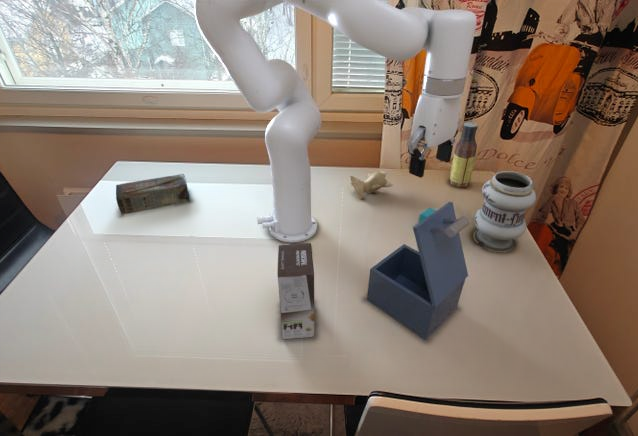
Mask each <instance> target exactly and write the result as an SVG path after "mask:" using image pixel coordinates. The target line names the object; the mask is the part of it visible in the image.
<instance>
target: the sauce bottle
mask: <svg viewBox="0 0 638 436" xmlns="http://www.w3.org/2000/svg"><path fill="white" fill-rule="evenodd" d="M478 127H479V125H478V123H476V122H472V121H466V122H464V123H463V124H462V131H461V132H462V133H461V136H460V139H459V140H458V141H457V143H456V145H455V149H454V153H453V157H452V164H451V169H450V175H449V183H450V185H451V186H454V187H456V188H461V189H462V188H467V187H468V186H469V185H470V182H471V180H472V175H473V169H474V166H475V160H476V157H477V155H476V153H477V148H478V145H477V142H476V133H477V130H478V129H479V128H478Z"/></svg>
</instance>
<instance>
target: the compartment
mask: <svg viewBox="0 0 638 436" xmlns="http://www.w3.org/2000/svg"><path fill="white" fill-rule="evenodd" d="M368 274H369V275H368V284H367V295H366V301H367V302H369V303H371V304H372V305H374V307H377V308H378V309H379V310H381V311H382V312H383V313H385V314H387V315H388V316H389V317H391V318H392V319H394V320H395V321H396V322H398V323H399V324H401V325H403V326H404V327H405V328H407V329H408V330H410V331H411V332H412V333H414V334H416V336H418V337H420V338H422V339H423V340H424V341H427V340H429V338H430V337H431V336H432V335H433V334H434V333H435V332H436V331H437V330H438V329H439V327H441V325H442V324H443V323H445V321H446V320H447V319H448V318H449V317H450V316H451V315H452V314H453V313H454V312H455V311H456V310H458V309H457V308H458V305H459V301H460V299H461V295H462V292H463V289H464V285H465V282H466V279H467V278H465V279H464V280H463V281H462V282H461V283H460V284H459V285H458V286H457V287H456V288H455V289H454V290H453V291H452V292H451V293H450V294H449V295H448V296H447V297H446V298H445V299H444V300H443V301H442V302H441V303H440V304H439V305H438V306H437V307H433V306H432V303H431V299H430V295H429V291H428V287H427V283H426V279H425V275H424V271H423V267H422V263H421V259H420V255H419V251H418V250H416V249H414V248H413V247H411V246H409V245H407V244H405V243H404V244H402V245H401V246H399V247H398V248H397V249H395V250H394V251H392V252H390V254H388V255H387V256H386V257H384V258H382V260H380V261H379V262H377V263H376V264H375V265H374V266H372V267H371V268H369V273H368Z"/></svg>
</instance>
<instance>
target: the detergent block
mask: <svg viewBox="0 0 638 436" xmlns="http://www.w3.org/2000/svg"><path fill="white" fill-rule="evenodd" d="M436 211H437V210H436V209H434V208H432V207H428V208H427V209H425V210H424V211H422V212H421V213H420V214H419V217H418V218H419V219H418V224H419V223H420V222H422V221H423V220H424V219H426V218H427V217H429V216H430V215H431V214H433V213H434V212H436Z"/></svg>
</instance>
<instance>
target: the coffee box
mask: <svg viewBox="0 0 638 436" xmlns="http://www.w3.org/2000/svg"><path fill="white" fill-rule="evenodd" d="M312 246H313V245H312V242H294V243H289V244H278V248H277V283H278V296H279V309H280V322H281V336H282V339H283V340H287V339H288V340H289V339H290V340H291V339H303V338H313V337H315V328H316V327H315V267H314V258H313V247H312Z"/></svg>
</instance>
